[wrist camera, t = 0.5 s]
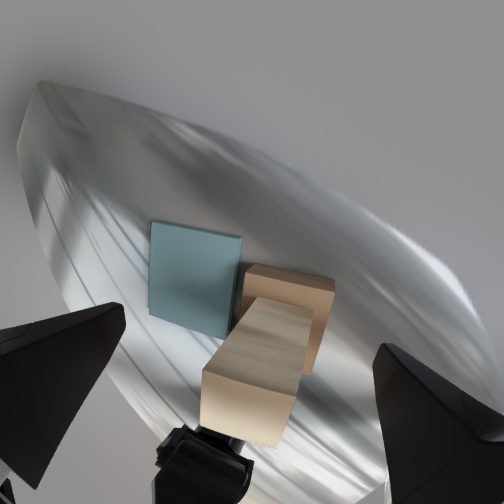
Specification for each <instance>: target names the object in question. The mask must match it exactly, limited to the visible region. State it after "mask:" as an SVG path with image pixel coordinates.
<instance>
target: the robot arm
mask: <svg viewBox="0 0 504 504" xmlns="http://www.w3.org/2000/svg"><path fill="white" fill-rule="evenodd" d="M125 328H126V321H125V313H124V307H123V305H122V304H120V303H116V302H110V303H106V304H102V305H98V306H95V307H91V308H87V309H83V310H79V311H76V312H72V313H68V314H64V315H60V316H56V317H52V318H49V319H45V320H41V321H37V322H34V323H29V324H25V325H20V326H16V327H11V328H6V329H2V330H0V504H16V503H15V499H14V495H13V491H12V487H11V482H10V480H9V479H8V478H7V476H8V475H9V473H10V472H11V471H13V472H14V473H15V474H16V475H17V476H18V477H20V478H21V479H22V480H23V481H24V482H25V483H27V484H28V485H29V486H31V487H32V488H33V489H34V490H35V489H37V487H38V485H39V483H40V481H41V479H42V477H43V475H44V473H45V471H46V469H47V467H48V465H49V463H50V461H51V459H52V457H53V455H54V453H55V452H56V450H57V447H58V445H59V444H60V442H61V440H62V438H63V437H64V435H65V433H66V431H67V429H68V428H69V426H70V424H71V422H72V421H73V419H74V417H75V416H76V414H77V412H78V410H79V409H80V407H81V405H82V404H83V402H84V400H85V399H86V397H87V395H88V394H89V392H90V391H91V389H92V387H93V386H94V384H95V382H96V381H97V379H98V378H99V376H100V375H101V373H102V371H103V370H104V368H105V367H106V365H107V363H108V362H109V360H110V358H111V356H112V354H113V352H114V350H115V348H116V346H117V344H118V343H119V341H120V339H121V337H122V335H123V333H124V331H125ZM372 368H373V377H374V386H375V396H376V404H377V409H378V414H379V419H380V424H381V430H382V435H383V441H384V447H385V453H386V459H387V466H388V473H389V481H390V490H391V500H392V504H504V415H502V414H500V413H498V412H497V411H495V410H493V409H491V408H489V407H488V406H486V405H484V404H483V403H481V402H479V401H478V400H476V399H475V398H473V397H472V396H470V395H469V394H467V393H466V392H464V391H463V390H461V389H460V388H458V387H457V386H455V385H454V384H452V383H451V382H449V381H448V380H446V379H445V378H443V377H442V376H441V375H439V374H438V373H436V372H435V371H433V370H432V369H430V368H429V367H427V366H426V365H424V364H423V363H421V362H420V361H418V360H417V359H415V358H414V357H412V356H411V355H410V354H408V353H407V352H405V351H404V350H402V349H401V348H399V347H398V346H396V345H395V344H393V343H382V344H381V345H380V347H379V349H378V352H377V354H376V356H375V359H374V361H373V367H372ZM244 443H245V441H244V440H241V439H238V438H235V437H232V436H229V435H226V434H223V433H220V432H217V431H214V430H211V429H208V428H206V427H203V426H201V425H200V423H199V424H198V426H197V428H196V429H195V431H193V430H192V429H190V428H188V426H187V425H185V424H184V425H183V426H182V428H174V429H173V430H172V431H171V433H170V434H169V435H168V437H167V438H166V439H165V440H164V441H163V442H162V443H161V444H160V445H159V447H158V448H157V449H156V451H157V455H158V457H157V462H156V463H155V465H156V466H158V467H159V468H161V470H160V471H159V472H158V474H157V475H156V477H155V478H154V479H153V481H152V504H237V503H238V502H240V500H241V499H242V498H243V497H244V495H245V494H246V492H247V490H248V488H249V485H250V481H251V476H252V471H253V466H254V461H253V460H250V459H247V458H244V457H242V456H240V455H239V454H240V452H241V450H242V448H243V445H244Z"/></svg>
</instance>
